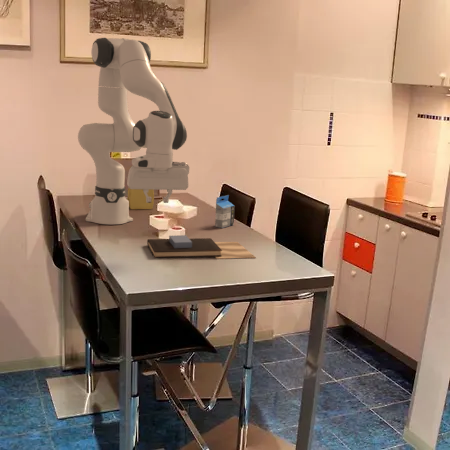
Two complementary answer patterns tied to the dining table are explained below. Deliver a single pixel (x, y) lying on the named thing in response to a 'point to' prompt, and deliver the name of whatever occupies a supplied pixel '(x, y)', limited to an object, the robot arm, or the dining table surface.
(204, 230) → the dining table surface
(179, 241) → the blue-grey flat block
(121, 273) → the dining table surface
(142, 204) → the cheese
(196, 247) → the hardcover book
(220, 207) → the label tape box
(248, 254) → the mat
